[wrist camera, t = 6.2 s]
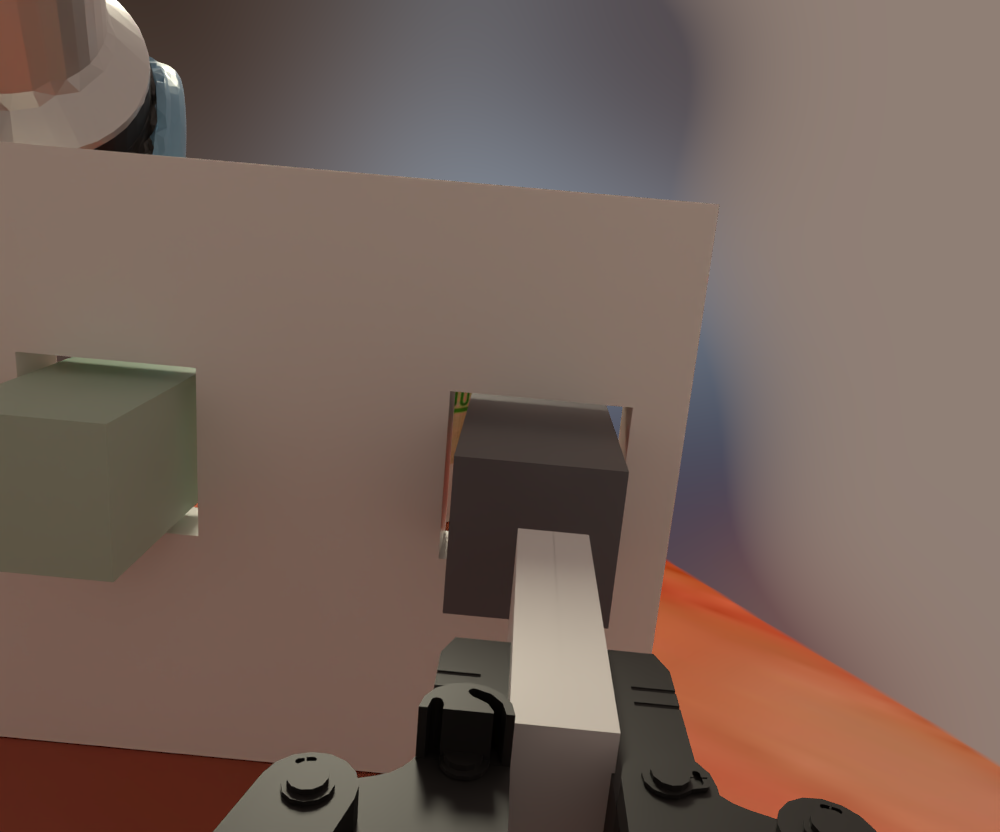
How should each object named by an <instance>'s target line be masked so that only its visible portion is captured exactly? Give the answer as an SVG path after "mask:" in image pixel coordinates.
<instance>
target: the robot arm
mask: <svg viewBox="0 0 1000 832" xmlns="http://www.w3.org/2000/svg"><path fill="white" fill-rule="evenodd" d="M0 142H11V143H23V144H34V145H45V146H57V147H68V148H80V149H91V150H103V151H114V152H125V153H137V154H148V155H160V156H171V157H183V158H186V109H185V99H184V91H183V86H182V82H181V79H180V77H179V76H178V74H177V72H176V71H175V70H174V69H172V68H171V67H170V66H168V65H166V64H163V63H159V62H157V61H156V60H154V59H153V58H152V57H149V54H148V51H147V48H146V45H145V42H144V39H143V37H142V34H141V32H140V29H139V28H138V26H137V25H136V23H135V22H134V20H133V19H132V17H131V16H130V14H129V13H128V12H127V11H126V10H125V9H124V8H123V7H122V5H121V4H120V3H119V2H118V1H117V0H0ZM213 832H876V830H875V829H873V828H872V827H871V826H870V825H869V824H868V823H867V822H866V821H865V820H864V819H863V818H862V817H860V816H859V815H857V814H855V813H854V812H852V811H850V810H848V809H847V808H845V807H843V806H841V805H838V804H835V803H832V802H829V801H826V800H823V799H813V798H800V799H796V800H792V801H789V802H787V803H786V804H785V805H784V806H783V807H782V808H781V809H780V810H779V813H778V818H777V819H774V818H771V817H768V816H765V815H762V814H759V813H756V812H753V811H750V810H747V809H745V808H743V807H740V806H738V805H735V804H733V803H731V802H730V801H728V800H726V799H725V798H723V797H721V796H720V795H719V792H718V789H717V786H716V784H715V783H714V781H713V779H712V777H711V776H710V774H709V773H708V772H707V771H706V770H704V769H703V768H702V767H701V766H700V765H699V764H698V763H696V762H695V760H694V757H693V753H692V750H691V746H690V743H689V739H688V735H687V732H686V728H685V725H684V721H683V718H682V714H681V711H680V710H679V703H678V700H677V696H676V694H675V689H674V686H673V682H672V678H671V675H670V672H669V671H668V669H667V668H666V667H665V666H664V665H663V664H662V663H661V662H660V661H659V660H658V659H657V658H656V656H655V655H654V654H647V653H637V652H627V651H616V650H607V645H606V639H605V633H604V627H603V620H602V614H601V608H600V602H599V595H598V589H597V583H596V576H595V570H594V564H593V558H592V551H591V545H590V539H589V535H585V534H574V533H564V532H553V531H542V530H532V529H521V528H518V533H517V543H516V554H515V564H514V574H513V584H512V594H511V605H510V615H509V625H508V635H507V642H501V641H490V640H480V639H470V638H459V637H455V638H454V639H453V640H452V641H451V642H450V643H449V644H448V645H447V646H446V647H445V648H444V649H443V650H442V651H441V653H440V658H439V663H438V668H437V673H436V678H435V683H434V688H433V690H432V691H431V692H429V693H428V694H426V695H425V696H424V698H423V699H422V701H421V703H420V705H419V709H418V724H417V739H416V754H415V757H414V758H413V759H412V760H411V761H410V762H408V763H407V764H405V765H404V766H403V767H401V768H398V769H396V770H394V771H391V772H389V773H384V774H380V775H376V776H369V777H362V778H357V773H356V771H355V770H354V769H353V768H352V767H351V766H350V765H349V763H348V762H347V761H345V760H343V759H341V758H339V757H336V756H334V755H332V754H326V753H318V752H308V753H300V754H293V755H291V756H288V757H286V758H284V759H281V760H279V761H276V762H275V763H274V764H273V765H271V766H270V767H269V768H268V769H266V770H265V771H264V772H263V773H262V774H261V775H260V776H259V778H258V779H257V780H256V781H255V782H254V784H253V785H252V786H251V787H250V788H249V790H248V791H247V792H246V793H245V794H244V795H243V797H242V798H241V799H240V800H239V801H238V803H237V804H236V805H235V806H234V807H233V809H232V810H231V811H230V812H229V813H228V814H227V816H226V817H225V818H224V819H223V820H222V822H221V823H220V824H219V825H218V826H217V828H216V829H215V830H214V831H213Z"/></svg>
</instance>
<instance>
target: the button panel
mask: <svg viewBox="0 0 1000 832" xmlns="http://www.w3.org/2000/svg"><path fill="white" fill-rule="evenodd" d="M718 210H719V205H718V204H708V203H695V202H685V201H674V200H662V199H650V198H640V197H627V196H617V195H605V194H594V193H582V192H571V191H560V190H547V189H536V188H525V187H514V186H502V185H491V184H480V183H468V182H455V181H445V180H434V179H422V178H411V177H399V176H388V175H377V174H365V173H353V172H342V171H331V170H319V169H307V168H296V167H285V166H274V165H262V164H251V163H240V162H228V161H216V160H205V159H193V158H183V157H171V156H160V155H148V154H137V153H125V152H114V151H103V150H91V149H80V148H68V147H57V146H45V145H34V144H23V143H11V142H0V384H1V383H3V382H6V381H9V380H12V379H14V378H17V377H20V376H22V375H25V374H28V373H30V372H33V371H36V370H39V369H41V368H44V367H47V366H49V365H52V364H55V363H57V357H56V356H57V355H58V356H69V357H80V358H91V359H102V360H113V361H124V362H135V363H146V364H157V365H168V366H179V367H190V368H196V417H197V483H198V508H194V507H193V508H191V509H190V510H189V511H188V512H187V513H186V514H185V515H184V516H183V517H182V518H181V519H180V520H179V521H178V522H177V523H176V524H175V525H174V526H172V527H171V528H170V529H169V530H168V531H167V532H166V533H165V534H164V535H163V536H162V537H161V538H160V539H159V540H158V541H157V542H156V543H155V544H153V545H152V546H151V547H150V548H149V549H148V550H147V551H146V552H145V553H144V554H143V555H142V556H141V557H140V558H139V559H138V560H137V561H136V562H134V563H133V564H132V565H131V566H130V567H129V568H128V569H127V570H126V571H125V572H124V573H123V574H122V575H121V576H120V577H119V578H118V579H117V580H115V581H114V582H105V581H94V580H84V579H73V578H62V577H52V576H41V575H31V574H20V573H9V572H0V736H2V737H13V738H23V739H33V740H44V741H54V742H64V743H75V744H85V745H96V746H106V747H116V748H127V749H137V750H148V751H158V752H168V753H179V754H189V755H199V756H210V757H220V758H231V759H241V760H251V761H262V762H272V763H275V762H276V761H279V760H281V759H284V758H286V757H288V756H291V755H293V754H300V753H308V752H318V753H326V754H332V755H334V756H336V757H339V758H341V759H343V760H345V761H347V762H348V763H349V765H350V766H351V767H352V768H353V769H354V770H355V771H366V772H376V773H389V772H391V771H394V770H396V769H398V768H401V767H403V766H404V765H405V764H407V763H408V762H410V761H411V760H412V759H413V758H414V757H415V754H416V739H417V724H418V709H419V705H420V703H421V701H422V699H423V698H424V696H425V695H426V694H428V693H429V692H431V691H432V690H433V688H434V683H435V678H436V673H437V668H438V663H439V658H440V653H441V651H442V650H443V649H444V648H445V647H446V646H447V645H448V644H449V643H450V642H451V641H452V640H453V639H454V638H455V637H459V638H470V639H480V640H490V641H501V642H507V635H508V625H509V619H499V618H489V617H478V616H467V615H457V614H446V613H443V600H444V586H445V572H446V559H447V545H448V531H445V528H446V514H447V500H448V486H449V472H450V458H451V444H452V430H453V416H454V403H455V392H466V393H477V394H488V395H499V396H511V397H522V398H533V399H544V400H555V401H566V402H577V403H588V404H599V405H610V406H621V407H623V410H622V417H621V426H620V433H619V440H618V441H619V444H620V447H621V450H622V453H623V456H624V458H625V461H626V464H627V467H628V470H629V477H628V484H627V492H626V499H625V507H624V514H623V522H622V529H621V537H620V544H619V552H618V559H617V567H616V574H615V582H614V589H613V597H612V604H611V612H610V619H609V627H608V629H606V628H604V633H605V639H606V645H607V650H616V651H627V652H637V653H647V654H652V648H653V642H654V635H655V628H656V622H657V615H658V608H659V602H660V595H661V588H662V582H663V575H664V569H665V562H666V555H667V549H668V542H669V535H670V529H671V522H672V515H673V509H674V502H675V496H676V489H677V482H678V476H679V468H680V463H681V456H682V449H683V443H684V436H685V429H686V422H687V416H688V410H689V403H690V396H691V390H692V383H693V376H694V370H695V363H696V357H697V350H698V343H699V336H700V329H701V323H702V317H703V310H704V303H705V297H706V290H707V283H708V277H709V270H710V264H711V257H712V251H713V243H714V237H715V231H716V224H717V217H718Z"/></svg>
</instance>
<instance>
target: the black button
mask: <svg viewBox="0 0 1000 832" xmlns="http://www.w3.org/2000/svg"><path fill="white" fill-rule="evenodd" d="M628 477H629V470H628V467H627V464H626V461H625V458H624V456H623V453H622V450H621V447H620V444H619V441H618V438H617V435H616V432H615V430H614V427H613V424H612V421H611V418H610V415H609V412H608V409H607V406H606V405H599V404H588V403H577V402H566V401H555V400H544V399H533V398H522V397H511V396H499V395H488V394H477V393H472V395H471V398H470V402H469V405H468V409H467V412H466V416H465V419H464V423H463V426H462V430H461V433H460V437H459V440H458V444H457V447H456V451H455V454H454V463H453V477H452V490H451V504H450V518H449V531H448V545H447V559H446V572H445V586H444V600H443V613H446V614H457V615H467V616H478V617H489V618H499V619H509V615H510V605H511V594H512V584H513V574H514V564H515V554H516V543H517V533H518V528H521V529H532V530H542V531H553V532H564V533H574V534H585V535H589V539H590V545H591V551H592V558H593V564H594V570H595V576H596V583H597V589H598V595H599V602H600V608H601V614H602V620H603V627H604V628H606V629H608V627H609V619H610V612H611V604H612V597H613V589H614V582H615V574H616V567H617V559H618V552H619V544H620V537H621V529H622V522H623V514H624V507H625V499H626V492H627V484H628Z"/></svg>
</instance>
